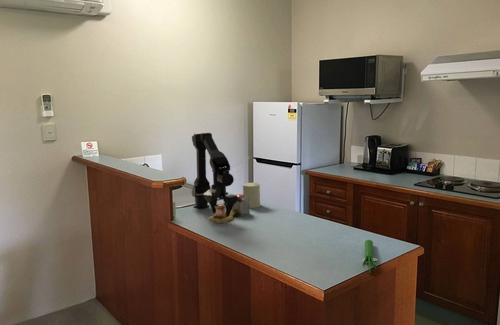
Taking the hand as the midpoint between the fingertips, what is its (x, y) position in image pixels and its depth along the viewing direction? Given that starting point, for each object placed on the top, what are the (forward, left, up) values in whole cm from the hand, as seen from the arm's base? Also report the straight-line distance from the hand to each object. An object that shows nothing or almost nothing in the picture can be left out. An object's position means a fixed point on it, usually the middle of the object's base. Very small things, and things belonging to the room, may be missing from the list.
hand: (220, 214), depth 192 cm
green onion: (+77, -2, -3) cm, 77 cm away
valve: (0, +10, -2) cm, 10 cm away
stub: (0, 0, -2) cm, 3 cm away
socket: (0, 0, -2) cm, 2 cm away
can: (-6, +28, -3) cm, 29 cm away
